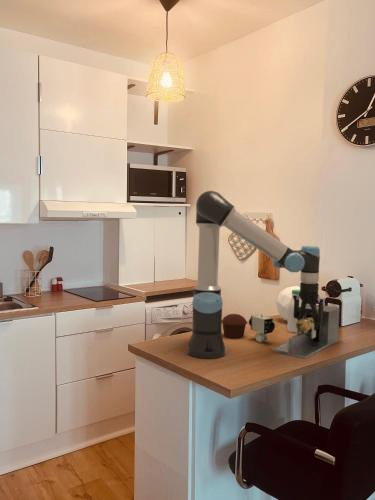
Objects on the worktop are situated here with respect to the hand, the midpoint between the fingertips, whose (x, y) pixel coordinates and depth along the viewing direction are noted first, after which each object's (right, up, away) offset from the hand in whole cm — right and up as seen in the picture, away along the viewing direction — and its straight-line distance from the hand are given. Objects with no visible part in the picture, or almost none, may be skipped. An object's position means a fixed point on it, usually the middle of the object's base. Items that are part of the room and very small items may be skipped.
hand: (307, 336), depth 189 cm
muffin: (-30, -3, +14) cm, 33 cm away
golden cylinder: (+2, +3, +2) cm, 3 cm away
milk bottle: (+1, -3, +25) cm, 25 cm away
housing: (0, -4, 0) cm, 4 cm away
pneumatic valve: (-18, -4, +6) cm, 20 cm away
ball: (+5, -1, +44) cm, 45 cm away
